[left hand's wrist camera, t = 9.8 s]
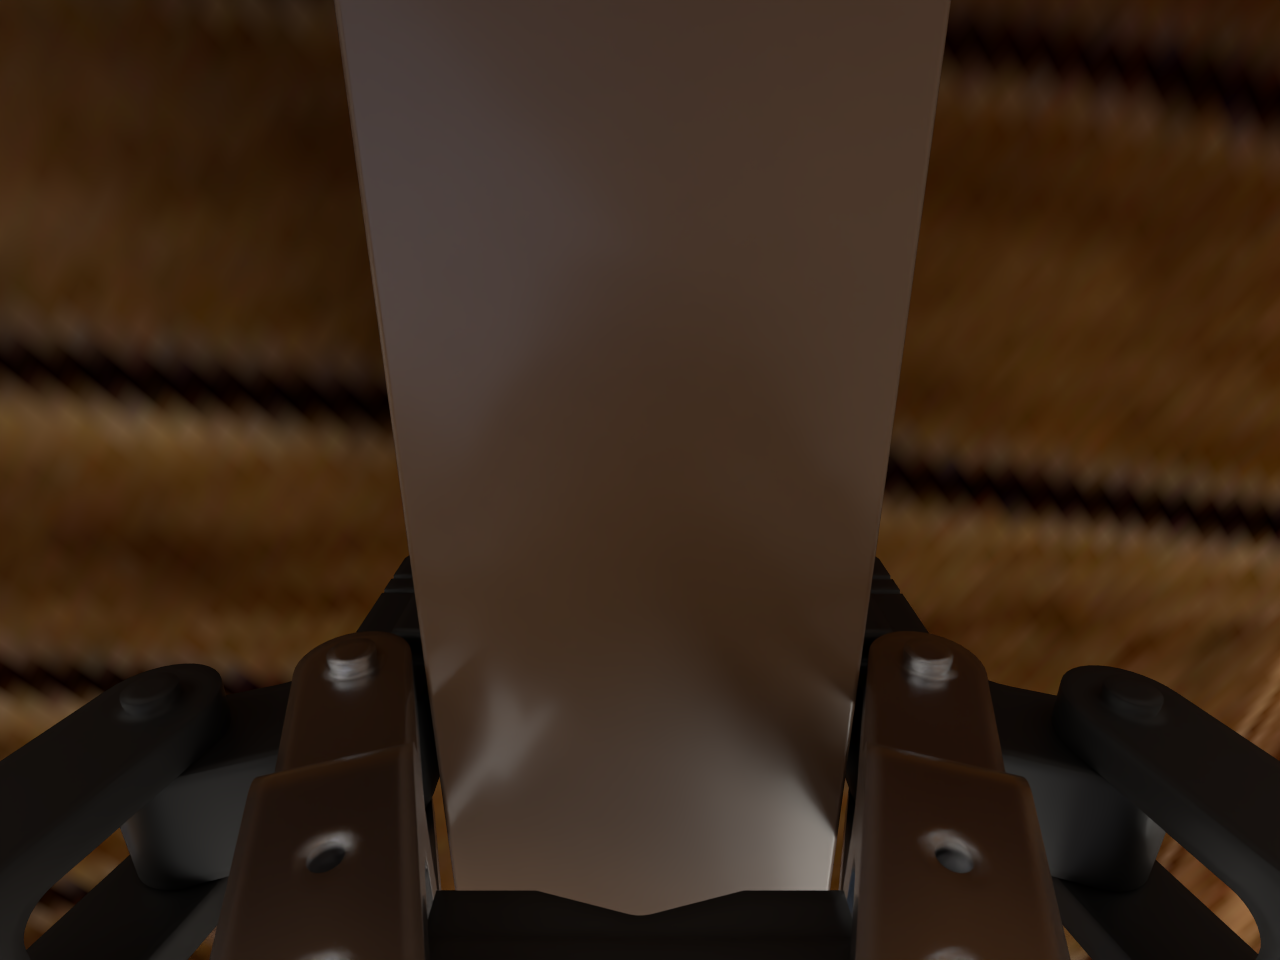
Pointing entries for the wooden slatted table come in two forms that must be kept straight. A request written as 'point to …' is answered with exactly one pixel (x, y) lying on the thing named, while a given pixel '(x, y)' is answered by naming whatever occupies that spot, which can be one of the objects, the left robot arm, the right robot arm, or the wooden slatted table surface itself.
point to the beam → (642, 411)
